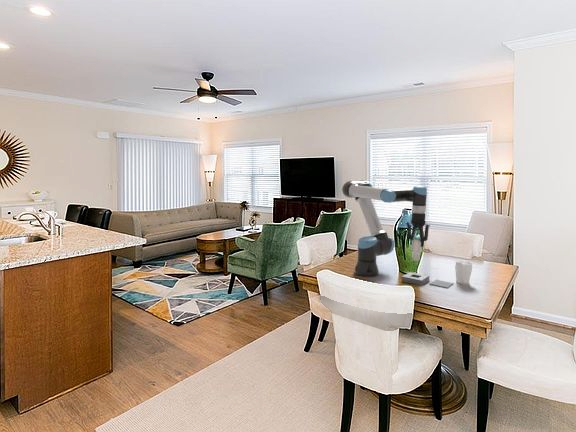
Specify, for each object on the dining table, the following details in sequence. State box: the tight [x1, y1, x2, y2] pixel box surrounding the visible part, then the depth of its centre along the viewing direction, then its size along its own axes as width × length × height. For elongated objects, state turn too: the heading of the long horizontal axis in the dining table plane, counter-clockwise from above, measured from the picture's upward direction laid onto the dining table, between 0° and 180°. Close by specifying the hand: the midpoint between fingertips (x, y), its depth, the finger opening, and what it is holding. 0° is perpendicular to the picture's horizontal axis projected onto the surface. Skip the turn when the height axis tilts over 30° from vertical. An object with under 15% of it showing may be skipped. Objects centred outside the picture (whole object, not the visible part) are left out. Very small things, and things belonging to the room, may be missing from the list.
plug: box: [412, 235, 421, 262], centre depth 216 cm, size 5×5×14 cm
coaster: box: [429, 279, 454, 289], centre depth 212 cm, size 10×10×1 cm
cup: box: [454, 260, 473, 285], centre depth 215 cm, size 9×9×12 cm
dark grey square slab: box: [401, 271, 430, 286], centre depth 218 cm, size 12×12×3 cm
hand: (416, 251), depth 216 cm, fingers closed on plug, 4 cm apart
